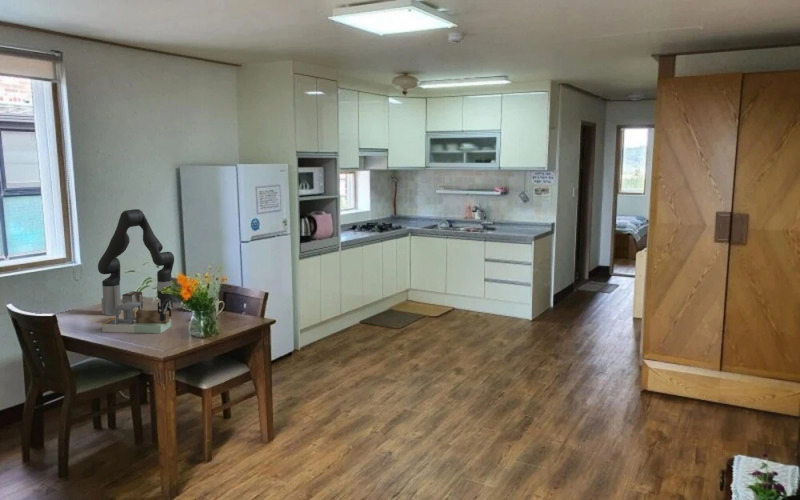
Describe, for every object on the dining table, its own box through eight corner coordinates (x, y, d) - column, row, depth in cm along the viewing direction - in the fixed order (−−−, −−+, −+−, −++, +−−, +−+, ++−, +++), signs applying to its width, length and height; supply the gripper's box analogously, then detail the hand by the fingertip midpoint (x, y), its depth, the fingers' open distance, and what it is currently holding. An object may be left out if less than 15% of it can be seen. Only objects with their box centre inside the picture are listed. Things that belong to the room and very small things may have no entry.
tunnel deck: (102, 331, 306) (101, 307, 305) (115, 324, 320) (114, 301, 318) (160, 333, 306) (159, 309, 305) (171, 326, 320) (170, 303, 318)
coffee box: (133, 318, 334) (132, 291, 332) (143, 319, 333) (142, 291, 331) (123, 322, 325) (122, 294, 323) (133, 323, 324) (132, 295, 322)
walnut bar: (136, 322, 311) (135, 312, 310) (140, 320, 315) (139, 309, 314) (166, 323, 310) (165, 312, 310) (169, 321, 315) (169, 310, 314)
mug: (216, 322, 329) (215, 302, 327) (199, 321, 331) (199, 301, 329) (225, 318, 340) (224, 298, 338) (209, 316, 341) (208, 296, 340)
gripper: (163, 286, 317) (164, 315, 320) (152, 291, 303) (153, 321, 305) (176, 286, 317) (177, 315, 320) (166, 292, 303) (167, 322, 305)
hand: (165, 318), depth 312 cm, fingers open, 8 cm apart
